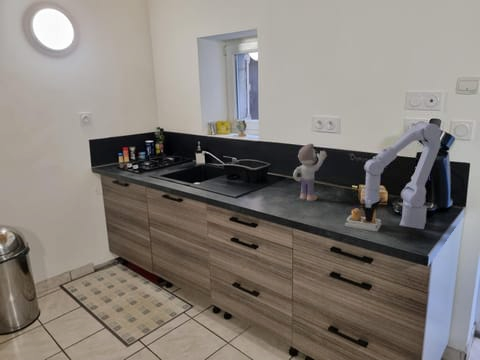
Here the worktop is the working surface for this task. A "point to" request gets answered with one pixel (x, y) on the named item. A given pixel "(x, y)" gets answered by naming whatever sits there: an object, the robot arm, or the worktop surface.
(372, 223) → the peg
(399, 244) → the worktop surface
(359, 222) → the housing
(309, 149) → the toy
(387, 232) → the worktop surface
